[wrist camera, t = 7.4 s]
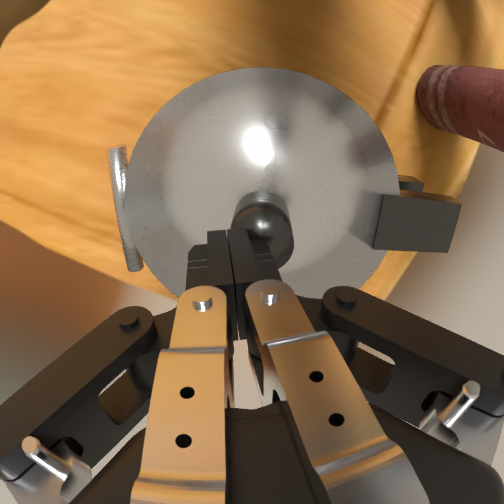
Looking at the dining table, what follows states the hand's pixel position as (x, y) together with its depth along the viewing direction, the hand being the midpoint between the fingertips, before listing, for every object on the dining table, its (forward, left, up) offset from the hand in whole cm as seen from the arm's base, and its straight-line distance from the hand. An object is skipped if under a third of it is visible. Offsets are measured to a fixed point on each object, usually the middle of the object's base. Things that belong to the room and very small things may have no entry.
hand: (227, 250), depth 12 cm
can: (-8, +19, -13) cm, 24 cm away
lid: (0, +3, -4) cm, 5 cm away
